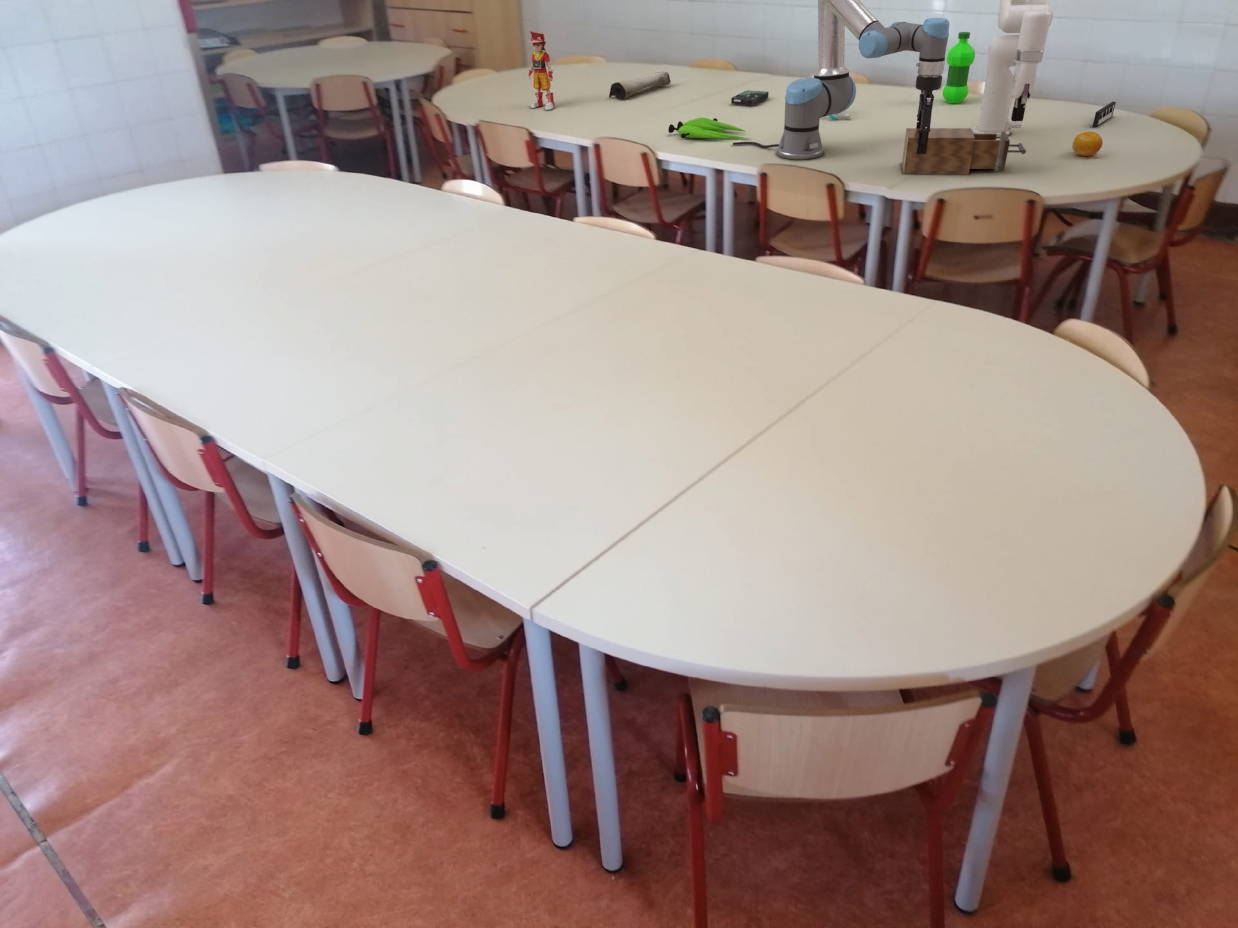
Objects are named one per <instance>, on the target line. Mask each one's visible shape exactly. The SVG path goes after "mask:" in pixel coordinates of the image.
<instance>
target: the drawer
mask: <svg viewBox="0 0 1238 928" xmlns="http://www.w3.org/2000/svg"><path fill="white" fill-rule="evenodd" d="M973 134H974V133H973ZM974 137H975V141H974V147H973V153H972V159H971V164H970V170H971V169H975V170H977V169H978V170H996V166H997V167H998V169H999V171H1000V172H1004V171H1005V169H1006V165H1007V159H1008V153H1011V154H1012V153H1013V154H1014V153H1015V154H1017V153H1018V154H1019V153H1021V154H1022V155H1025V154H1026V153H1027V150H1026V148H1025V146H1024V145H1023V143H1022V142H1018V143H1016V144H1015V143H1014V144H1012V143H1011V140H1010V138H1009V135H1007V134H1006V132H1001V136H1000V137H999V139H997V138H998V137H997V134H974ZM1011 147H1012V148H1018V149H1015V150H1014V149H1009V148H1011Z"/></svg>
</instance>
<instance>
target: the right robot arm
mask: <svg viewBox="0 0 1238 928" xmlns="http://www.w3.org/2000/svg"><path fill="white" fill-rule="evenodd" d="M1053 16H1054V11H1053V10H1052V8H1051V3H1050V1H1049V0H999V7H998V13H997V27H998V29H1000V30H1001V31H1002V32H1003V33H1005V35H1003V34H1002V35H999V36H996V37H993V39H992V40H990V42H989V44H988V48H987V64H986V65H987V67H986V76H985V81H984V88H983V96H982V100H981V106H980V110H979V111H980V112H979V117H978V123H977V126H974V127H973V128H972V132H973V134H997V137H996V138H1000V136H1001V132H1006V134H1007V136H1009V135H1010V134H1011V130H1012V129H1021V128H1022V123H1023V121H1024V116H1025V112H1026V106H1027V101H1028V100H1029V99H1031V98H1032V97H1033V93H1034V89H1035V82H1036V79H1037V78H1036V77H1037V72H1038V65H1039V64H1041V63H1042V62H1043V59H1044V54H1045V48H1046V44H1047V39H1048V33H1049V30H1050V29H1049V28H1050V27H1051V25H1052V22H1053V18H1054V17H1053ZM1012 67H1015V68H1014V72H1012V71H1011V70H1010V69H1011V68H1012ZM1013 99H1014V102H1013V107H1012V111H1011V115H1010V110H1011V106H1012V100H1013ZM1010 116H1011V117H1010ZM1009 117H1010V119H1009ZM1010 120H1011V121H1010Z"/></svg>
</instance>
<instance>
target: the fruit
mask: <svg viewBox="0 0 1238 928" xmlns="http://www.w3.org/2000/svg"><path fill="white" fill-rule="evenodd" d="M1102 146H1103V138H1102V136H1101V135H1100V134H1099V133H1098V132H1095V131H1084V132H1080V133H1079V134H1077V135H1076V136H1075V137H1074V138H1073V141H1072V151H1073V153H1075V154H1076V155H1078V156H1081V157H1090V156H1094V155H1096V154H1097V153H1099V151H1101V148H1102Z"/></svg>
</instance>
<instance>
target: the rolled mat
mask: <svg viewBox="0 0 1238 928" xmlns="http://www.w3.org/2000/svg"><path fill="white" fill-rule="evenodd" d="M671 83H672V81H671V77H670V74H669V72H668V71H658V72H654V73H649V74H645V75H640V76H637V77H633V78H628V79H623V80H620V81H616V82H613V83H612V84H611V85H610V89H609V95H608V97H609V98H611V97H616V99H620V100H622V101H623V100H626V99H627V98H629V97H630V96H632V95H635V94H636V93H638V92H640V91H643V90H644V89H647V88H650V87H655V86H658V87H659V86H661V87H665V86H669V85H670V84H671Z"/></svg>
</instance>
